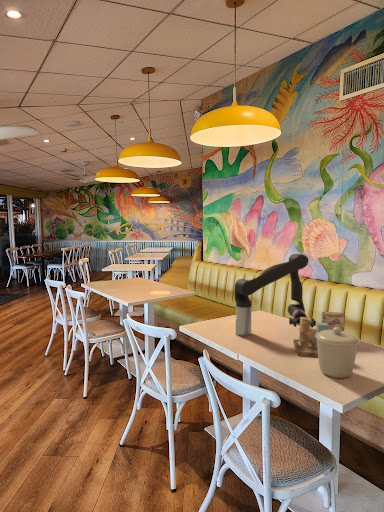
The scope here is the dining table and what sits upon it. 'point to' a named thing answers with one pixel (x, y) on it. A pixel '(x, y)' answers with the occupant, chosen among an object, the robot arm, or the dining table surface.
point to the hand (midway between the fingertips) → (303, 325)
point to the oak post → (304, 330)
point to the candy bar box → (334, 320)
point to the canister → (336, 352)
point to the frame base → (312, 348)
